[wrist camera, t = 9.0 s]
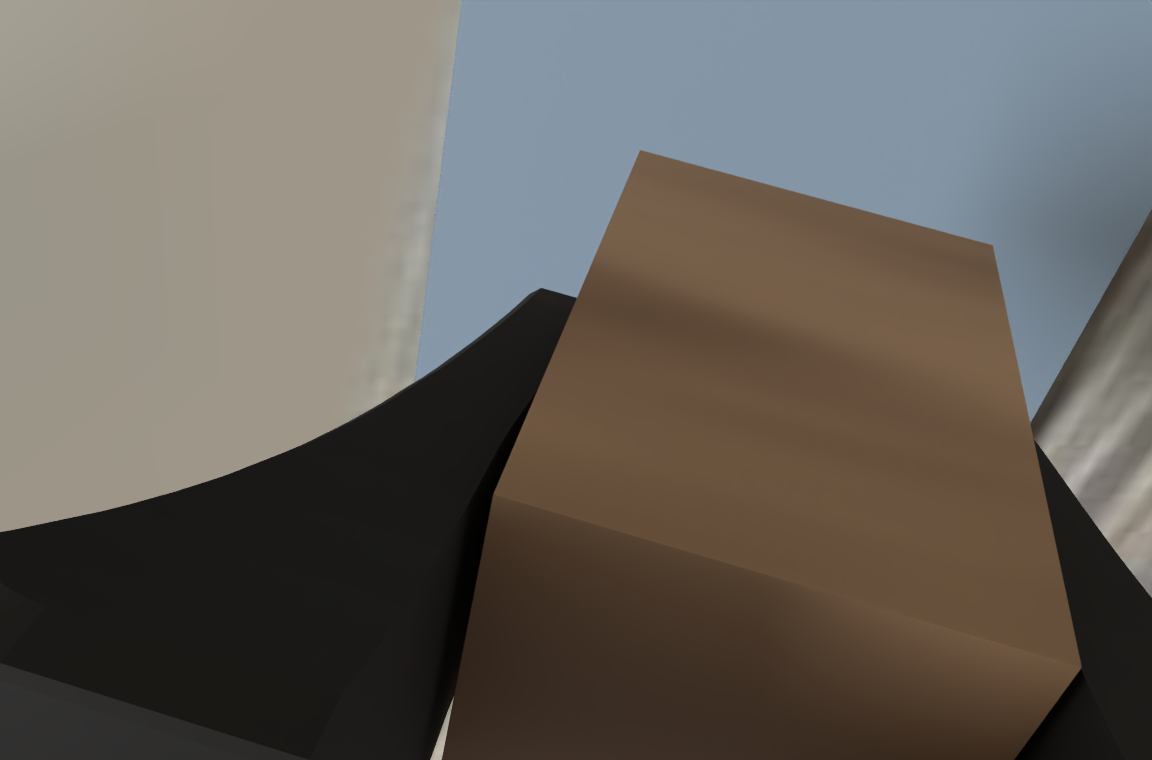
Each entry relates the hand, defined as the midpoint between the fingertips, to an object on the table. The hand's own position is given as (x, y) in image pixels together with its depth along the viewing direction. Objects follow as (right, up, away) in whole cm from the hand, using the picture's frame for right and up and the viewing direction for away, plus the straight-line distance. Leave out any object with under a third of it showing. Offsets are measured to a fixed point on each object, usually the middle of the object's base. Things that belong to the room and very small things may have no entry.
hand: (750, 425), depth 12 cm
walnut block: (0, +1, +1) cm, 2 cm away
